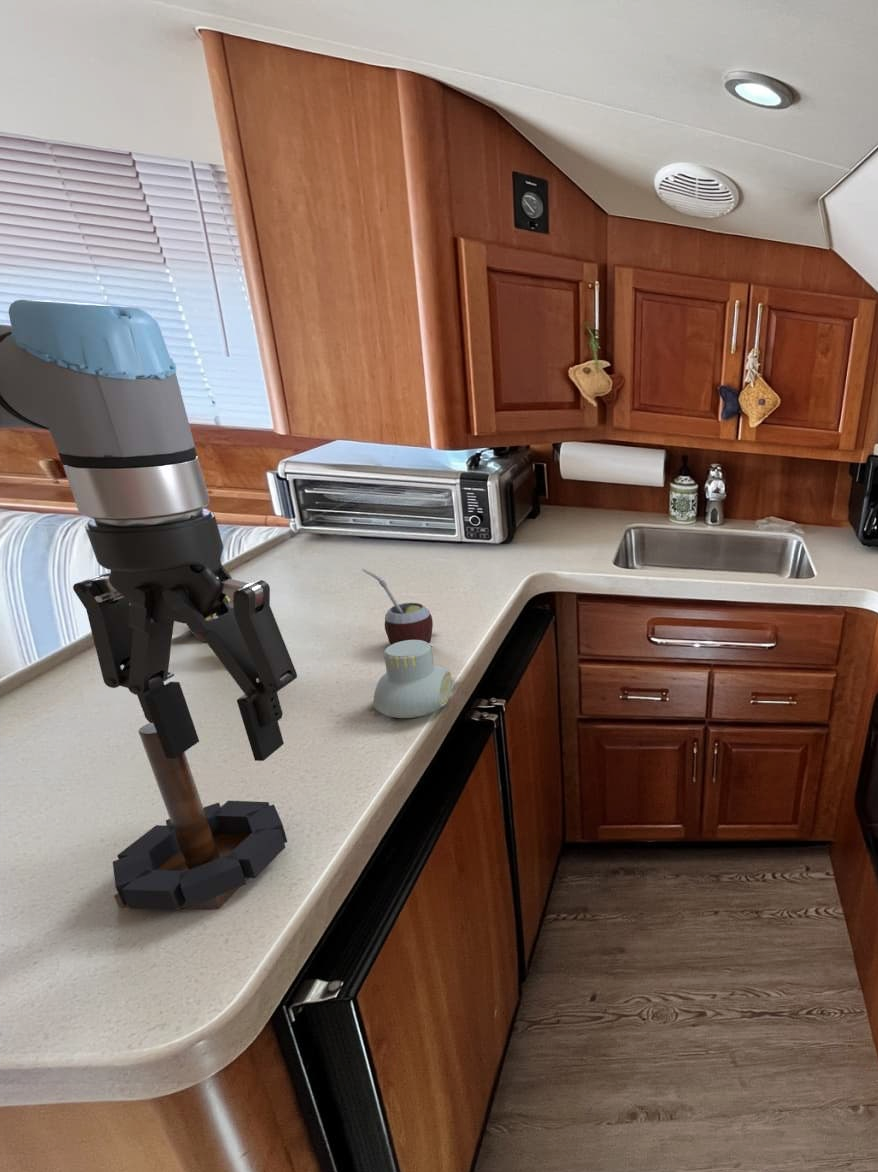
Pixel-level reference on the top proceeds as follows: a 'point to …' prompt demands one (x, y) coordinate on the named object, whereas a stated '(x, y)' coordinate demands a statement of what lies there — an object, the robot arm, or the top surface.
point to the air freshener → (411, 681)
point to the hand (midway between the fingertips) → (226, 750)
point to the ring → (206, 881)
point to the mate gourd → (406, 619)
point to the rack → (186, 816)
